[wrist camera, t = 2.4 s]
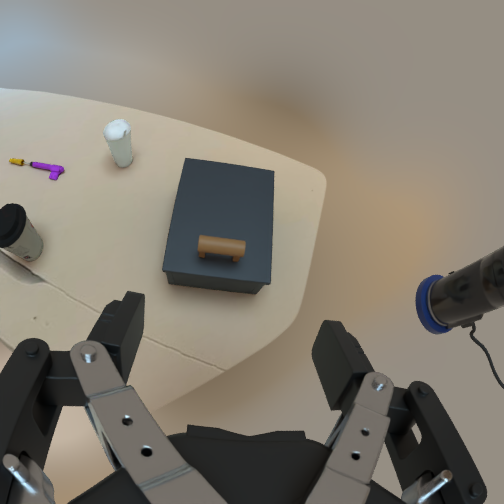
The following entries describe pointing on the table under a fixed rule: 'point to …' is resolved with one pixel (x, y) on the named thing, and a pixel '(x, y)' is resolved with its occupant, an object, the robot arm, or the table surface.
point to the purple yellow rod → (53, 168)
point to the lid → (222, 223)
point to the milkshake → (119, 141)
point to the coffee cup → (19, 233)
